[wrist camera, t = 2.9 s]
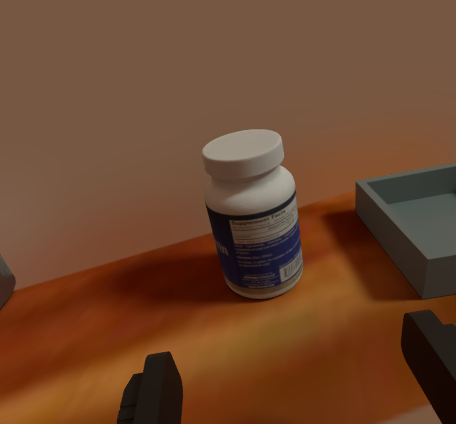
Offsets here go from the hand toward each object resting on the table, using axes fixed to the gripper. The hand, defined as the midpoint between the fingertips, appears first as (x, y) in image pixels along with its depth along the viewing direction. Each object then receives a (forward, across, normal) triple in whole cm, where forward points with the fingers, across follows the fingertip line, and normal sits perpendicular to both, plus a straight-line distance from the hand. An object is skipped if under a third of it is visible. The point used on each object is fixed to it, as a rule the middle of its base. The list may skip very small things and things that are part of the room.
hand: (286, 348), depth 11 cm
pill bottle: (+11, 0, +6) cm, 13 cm away
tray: (+12, -14, +6) cm, 19 cm away
